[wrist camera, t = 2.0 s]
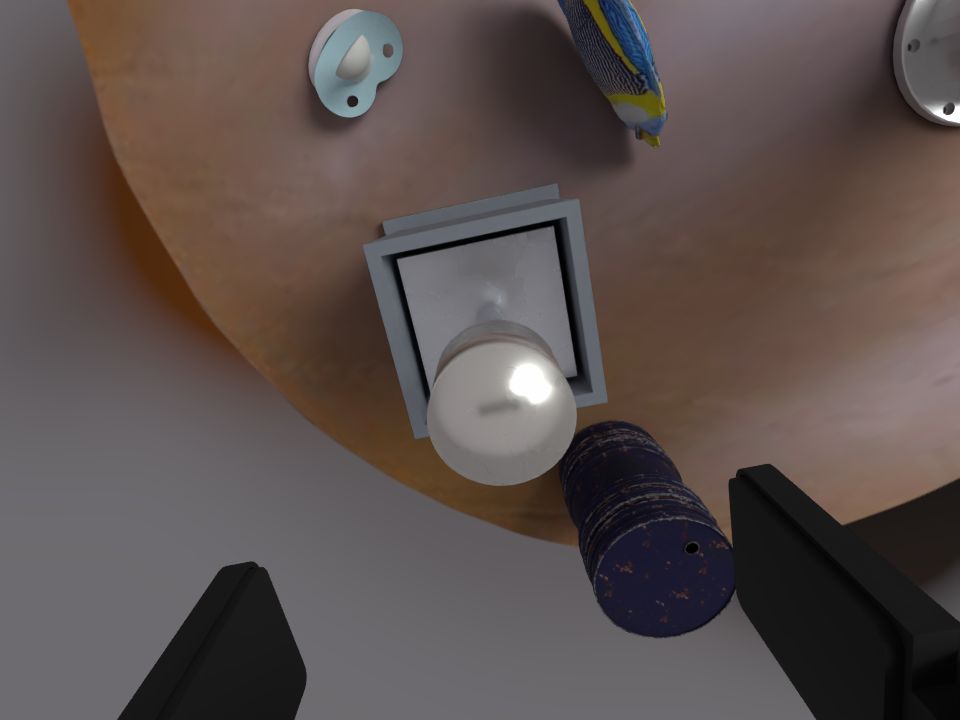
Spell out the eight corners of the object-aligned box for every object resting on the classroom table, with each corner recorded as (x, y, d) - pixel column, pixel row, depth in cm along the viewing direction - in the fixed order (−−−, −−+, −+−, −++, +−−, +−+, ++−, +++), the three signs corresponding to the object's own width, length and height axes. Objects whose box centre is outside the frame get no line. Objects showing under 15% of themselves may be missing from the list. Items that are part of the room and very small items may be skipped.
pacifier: (294, 77, 38) (358, 133, 39) (257, 51, 32) (334, 118, 33) (351, -10, 37) (417, 50, 38) (324, -54, 31) (403, 19, 32)
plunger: (551, 225, 31) (625, 250, 15) (574, 370, 33) (656, 513, 18) (399, 257, 31) (325, 312, 16) (434, 398, 34) (400, 559, 19)
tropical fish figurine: (664, 137, 39) (724, 117, 30) (629, 163, 40) (677, 152, 30) (548, -56, 36) (574, -150, 26) (512, -24, 36) (524, -104, 27)
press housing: (555, 183, 40) (594, 174, 27) (581, 349, 44) (626, 413, 31) (384, 220, 41) (339, 230, 28) (424, 380, 45) (403, 456, 32)
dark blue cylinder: (624, 528, 50) (684, 659, 36) (538, 486, 49) (563, 606, 34) (683, 447, 47) (773, 554, 33) (594, 401, 46) (647, 491, 32)
